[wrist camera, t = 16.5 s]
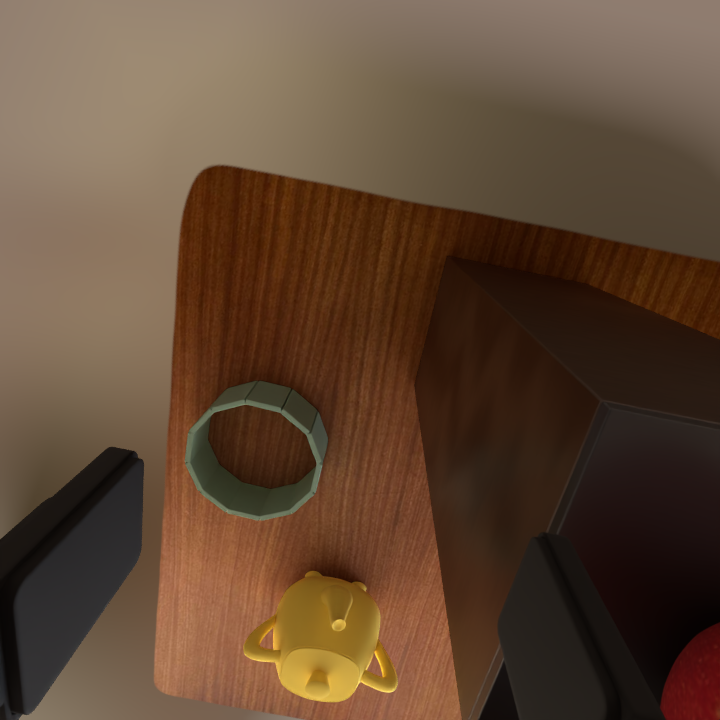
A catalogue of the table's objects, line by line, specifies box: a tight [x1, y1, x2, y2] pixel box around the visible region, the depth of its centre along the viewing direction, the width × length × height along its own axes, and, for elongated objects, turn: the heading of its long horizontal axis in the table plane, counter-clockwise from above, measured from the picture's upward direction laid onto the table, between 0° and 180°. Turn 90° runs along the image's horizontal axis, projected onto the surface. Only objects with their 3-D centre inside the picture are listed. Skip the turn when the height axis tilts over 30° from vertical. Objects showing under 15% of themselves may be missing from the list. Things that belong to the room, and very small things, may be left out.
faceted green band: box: [185, 381, 328, 521], centre depth 49 cm, size 14×14×5 cm
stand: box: [414, 256, 720, 720], centre depth 25 cm, size 14×14×44 cm
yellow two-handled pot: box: [243, 571, 398, 702], centre depth 53 cm, size 14×14×12 cm
